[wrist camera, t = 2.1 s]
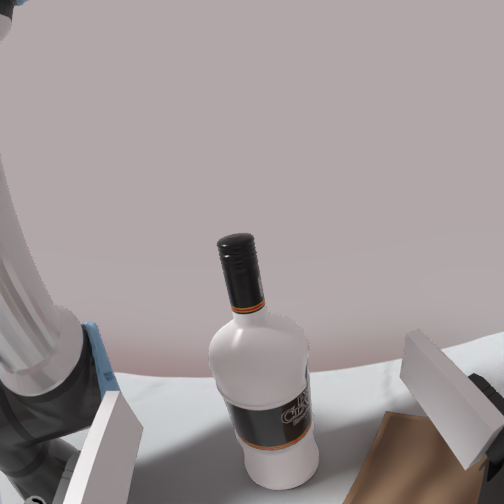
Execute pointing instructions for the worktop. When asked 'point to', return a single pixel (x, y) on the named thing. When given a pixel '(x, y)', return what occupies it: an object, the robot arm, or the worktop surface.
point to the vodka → (263, 376)
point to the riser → (414, 467)
